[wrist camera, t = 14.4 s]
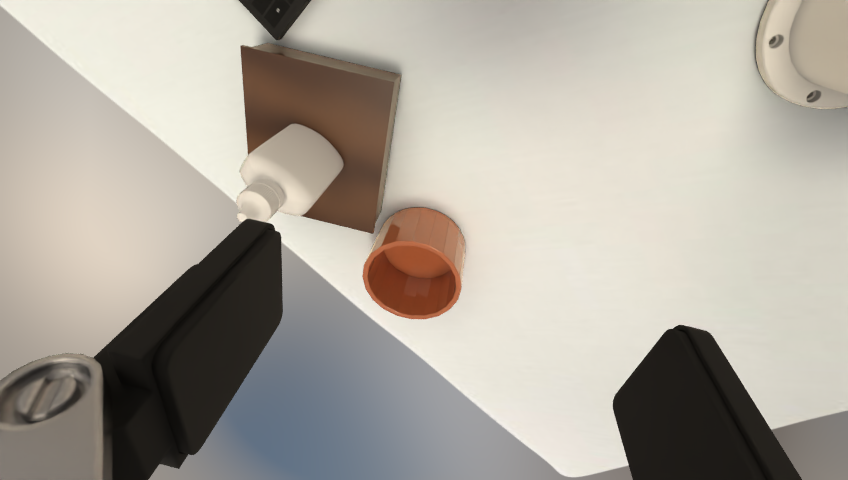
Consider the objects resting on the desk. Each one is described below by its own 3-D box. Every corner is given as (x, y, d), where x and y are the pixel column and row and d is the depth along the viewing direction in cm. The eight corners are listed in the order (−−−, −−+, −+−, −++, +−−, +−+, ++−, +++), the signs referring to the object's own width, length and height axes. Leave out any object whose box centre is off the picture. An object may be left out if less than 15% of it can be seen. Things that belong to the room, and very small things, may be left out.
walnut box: (265, 39, 34) (240, 45, 30) (404, 72, 34) (394, 82, 30) (270, 186, 42) (251, 203, 39) (382, 214, 42) (373, 233, 38)
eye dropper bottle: (310, 185, 36) (241, 260, 26) (278, 128, 34) (188, 188, 24) (350, 172, 35) (293, 246, 25) (320, 111, 32) (243, 168, 22)
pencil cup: (385, 197, 40) (368, 230, 35) (475, 219, 40) (472, 255, 35) (374, 268, 46) (358, 306, 40) (453, 288, 46) (448, 328, 40)
